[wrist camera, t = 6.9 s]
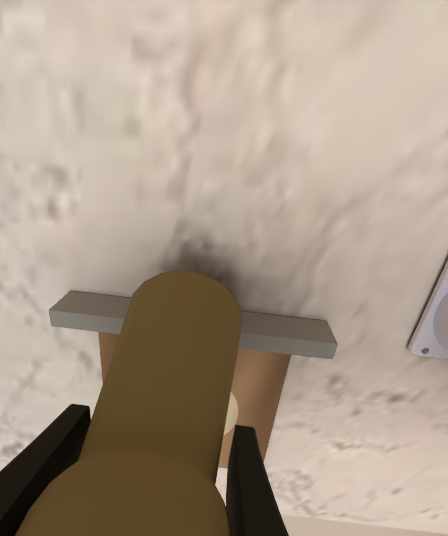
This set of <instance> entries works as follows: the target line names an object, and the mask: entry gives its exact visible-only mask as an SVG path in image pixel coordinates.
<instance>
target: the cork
mask: <svg viewBox="0 0 448 536" xmlns="http://www.w3.org/2000/svg"><path fill="white" fill-rule="evenodd" d="M242 323H243V319H242V315H241V310H240V306H239V304H238V302H237V301H236V299H235V298H234V296H233V295H232V293H231V292H230V291H229V290H228V289H227V288H225V287H224V286H223V285H222V284H220V283H219V282H218V281H217V280H214V279H212V278H210V277H207V276H205V275H202V274H200V273H195V272H187V271H173V272H167V273H161V274H159V275H157V276H155V277H153V278H151V279H149V280H147V281H145V282H144V283H143V284H142V285H141V286H140V287H139V288H138V289H137V290H136V291H135V292H134V294H133V296H132V299H131V302H130V304H129V307H128V310H127V313H126V316H125V319H124V322H123V325H122V328H121V331H120V334H119V337H118V340H117V343H116V346H115V349H114V352H113V355H112V359H111V362H110V365H109V368H108V371H107V374H106V377H105V380H104V383H103V386H102V389H101V392H100V395H99V398H98V401H97V404H96V407H95V410H94V413H93V416H92V419H91V422H90V425H89V428H88V431H87V434H86V437H85V440H84V443H83V446H82V449H81V453H80V456H79V459H78V461H77V462H76V463H75V464H73V465H72V466H70V467H69V468H68V469H66V470H65V471H64V472H62V473H61V474H60V475H59V476H58V477H56V478H55V479H54V480H53V481H51V482H50V483H49V485H48V486H47V487H46V489H45V490H44V491H43V492H42V494H41V495H40V496H39V497H38V499H37V500H36V501H35V503H34V504H33V505H32V506H31V508H30V509H29V511H28V513H27V514H26V516H25V518H24V520H23V522H22V524H21V525H20V527H19V529H18V531H17V533H16V535H15V536H233V535H232V529H231V524H230V519H229V514H228V511H227V509H226V506H225V503H224V501H223V499H222V497H221V495H220V493H219V491H218V490H217V488H216V486H215V483H216V477H217V471H218V465H219V459H220V453H221V447H222V441H223V435H224V430H225V424H226V418H227V412H228V406H229V400H230V394H231V388H232V382H233V376H234V370H235V364H236V358H237V352H238V346H239V341H240V335H241V329H242Z"/></svg>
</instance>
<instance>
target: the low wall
mask: <svg viewBox="0 0 448 536" xmlns="http://www.w3.org/2000/svg"><path fill="white" fill-rule="evenodd" d="M131 299H132V298H127V297H119V296H110V295H102V294H93V293H85V292H76V291H70V292H68V293H67V294H66V295H65V296H64V297H63V298H62V299H61V300H59V301H58V302H57V303H56V304H55V305H54V306H53V307H52V308H50V309H49V315H50V321H51V326H55V327H64V328H72V329H80V330H89V331H97V332H106V333H114V334H120V331H121V328H122V325H123V322H124V319H125V316H126V313H127V310H128V307H129V304H130V302H131ZM241 315H242V319H243V323H242V329H241V335H240V341H239V346H238V348H242V349H250V350H259V351H267V352H276V353H284V354H293V355H301V356H310V357H318V358H327V359H333V357H334V354H335V351H336V348H337V345H338V344H337V342H336V340H335V337H334V335H333V333H332V331H331V329H330V327H329V325H328V323H327V321H323V320H314V319H306V318H297V317H289V316H280V315H272V314H263V313H255V312H246V311H241Z"/></svg>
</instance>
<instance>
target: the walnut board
mask: <svg viewBox="0 0 448 536" xmlns="http://www.w3.org/2000/svg"><path fill="white" fill-rule="evenodd" d="M118 337H119V334H114V333H106V332H99V343H100V355H101V366H102V377H103V383H104V380H105V377H106V374H107V371H108V368H109V365H110V362H111V359H112V355H113V352H114V349H115V346H116V343H117V340H118ZM290 357H291V354H284V353H276V352H267V351H259V350H250V349H242V348H238V352H237V358H236V364H235V370H234V376H233V382H232V388H231V394H230V400H229V406H228V412H227V418H226V424H225V430H224V435H223V441H222V447H221V453H220V459H219V465H218V467H220V468H228V460H229V455H230V450H231V445H232V439H233V434H234V429H235V425H242V426H250V427H253V428H254V429H255V431H256V436H257V441H258V445H259V449H260V453H261V456H262V460H263V462H264V459H265V455H266V451H267V447H268V443H269V439H270V435H271V431H272V427H273V423H274V419H275V415H276V411H277V408H278V404H279V400H280V396H281V392H282V388H283V384H284V380H285V376H286V372H287V368H288V364H289V361H290Z"/></svg>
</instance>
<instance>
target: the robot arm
mask: <svg viewBox="0 0 448 536" xmlns="http://www.w3.org/2000/svg"><path fill="white" fill-rule="evenodd" d="M424 348H425V349H424ZM422 349H424V350H422ZM408 350H409V351H410V353H411V354H413V355H417V356H426V357H434V358H443V359H448V261H447V263H446V265H445V267H444V269H443V272H442V274H441V276H440V278H439V280H438V282H437V285H436V287H435V289H434V291H433V293H432V296H431V298H430V300H429V302H428V304H427V306H426V309H425V311H424V313H423V315H422V317H421V319H420V322H419V324H418V326H417V328H416V330H415V333H414V335H413V337H412V339H411V341H410V343H409V346H408ZM90 422H91V417H90V408H89V406H85V405H77V404H71V405H70V406H68V407H67V408H66V409H65V410H64V411H63V412H62V413H61V414H60V415H59V416H58V417H57V418H56V419H55V420H54V421H53V422H52V423H51V424H50V425H49V426H48V427H47V428H46V429H45V430H44V431H43V432H42V433H41V434H40V435H39V436H38V437H37V438H36V439H35V440H34V441H33V442H32V443H31V444H29V445H28V446H27V447H26V448H25V449H24V450H23V451H22V452H21V453H20V454H19V455H18V456H16V457H15V458H14V459H13V460H12V461H11V462H10V463H9V464H8V465H7V466H6V467H4V468H3V469H2V470H1V471H0V536H15V535H16V533H17V531H18V529H19V527H20V525H21V524H22V522H23V520H24V518H25V516H26V514H27V513H28V511H29V509H30V508H31V506H32V505H33V504H34V503H35V501H36V500H37V499H38V497H39V496H40V495H41V494H42V492H43V491H44V490H45V489H46V487H47V486H48V485H49V483H50V482H51V481H53V480H54V479H55V478H56V477H58V476H59V475H60V474H61V473H62V472H64V471H65V470H66V469H68V468H69V467H70V466H72V465H73V464H75V463H76V462H77V461H78V459H79V456H80V453H81V449H82V446H83V443H84V440H85V437H86V434H87V431H88V428H89V425H90ZM226 509H227V511H228V514H229V519H230V524H231V529H232V535H233V536H289V535H288V532H287V530H286V527H285V525H284V522H283V520H282V517H281V514H280V512H279V509H278V506H277V503H276V500H275V497H274V495H273V492H272V489H271V486H270V483H269V480H268V477H267V474H266V470H265V467H264V463H263V460H262V456H261V453H260V449H259V445H258V441H257V436H256V431H255V429H254V428H253V427H250V426H242V425H235V429H234V434H233V439H232V445H231V450H230V455H229V460H228V472H227V489H226Z"/></svg>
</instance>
